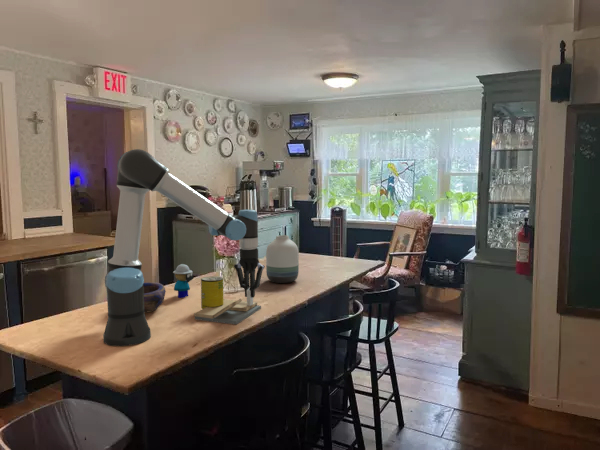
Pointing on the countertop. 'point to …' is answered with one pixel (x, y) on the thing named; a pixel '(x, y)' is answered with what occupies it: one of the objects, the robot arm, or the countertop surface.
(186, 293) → the toy
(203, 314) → the underlay
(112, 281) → the robot arm
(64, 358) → the countertop surface
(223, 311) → the tan flat block
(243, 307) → the plank far
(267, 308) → the countertop surface
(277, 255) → the vase
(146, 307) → the bowl
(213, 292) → the beverage can
